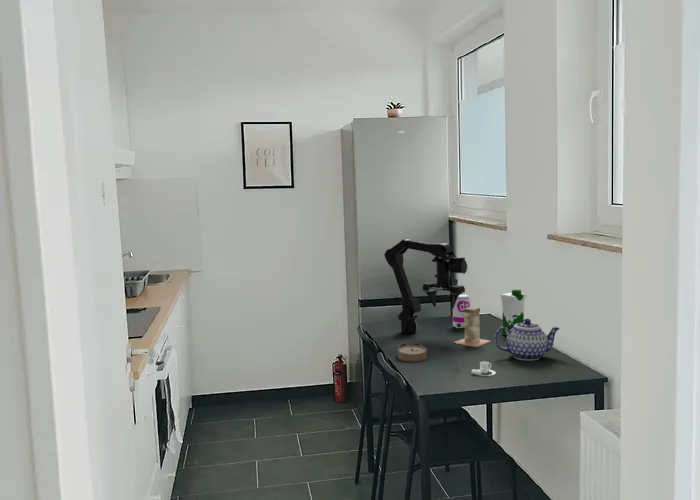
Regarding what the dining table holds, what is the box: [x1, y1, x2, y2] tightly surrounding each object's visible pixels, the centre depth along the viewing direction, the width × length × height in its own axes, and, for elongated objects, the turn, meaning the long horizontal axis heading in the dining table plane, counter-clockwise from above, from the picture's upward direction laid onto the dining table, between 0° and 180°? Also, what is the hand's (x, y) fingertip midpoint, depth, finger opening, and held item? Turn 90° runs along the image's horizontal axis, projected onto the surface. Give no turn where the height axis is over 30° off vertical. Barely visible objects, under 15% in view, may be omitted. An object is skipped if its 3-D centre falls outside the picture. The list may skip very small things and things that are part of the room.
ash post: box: [464, 306, 481, 343], centre depth 278 cm, size 5×5×14 cm
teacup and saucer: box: [470, 360, 497, 377], centre depth 235 cm, size 9×8×4 cm
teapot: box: [493, 318, 561, 361], centre depth 254 cm, size 25×15×15 cm, turn 88°
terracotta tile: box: [453, 337, 491, 348], centre depth 279 cm, size 11×11×1 cm
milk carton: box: [500, 289, 526, 336], centre depth 291 cm, size 9×9×20 cm
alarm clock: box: [397, 342, 427, 362], centre depth 260 cm, size 11×5×15 cm
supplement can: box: [452, 293, 472, 329], centre depth 308 cm, size 8×8×15 cm
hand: (443, 307), depth 289 cm, fingers open, 9 cm apart
